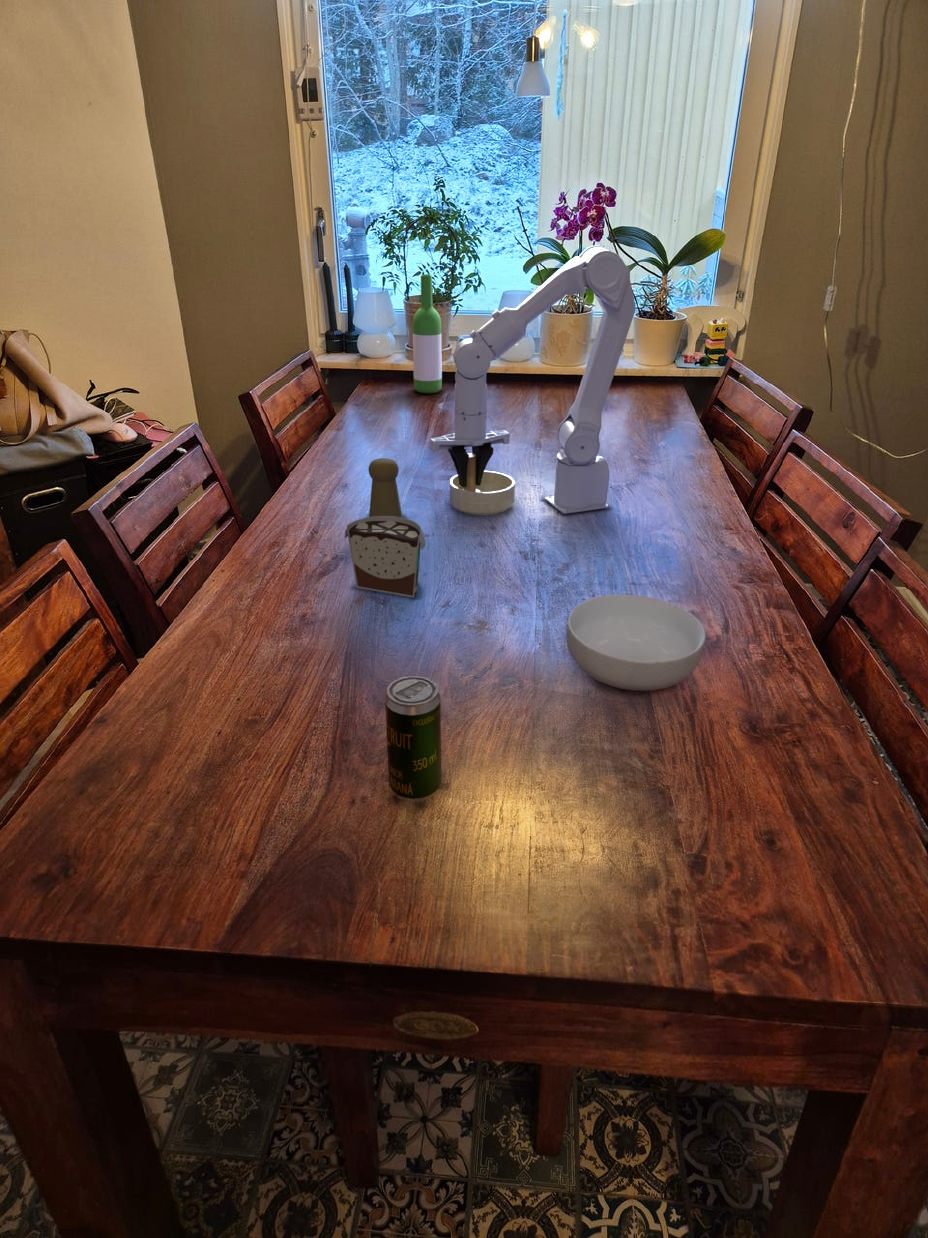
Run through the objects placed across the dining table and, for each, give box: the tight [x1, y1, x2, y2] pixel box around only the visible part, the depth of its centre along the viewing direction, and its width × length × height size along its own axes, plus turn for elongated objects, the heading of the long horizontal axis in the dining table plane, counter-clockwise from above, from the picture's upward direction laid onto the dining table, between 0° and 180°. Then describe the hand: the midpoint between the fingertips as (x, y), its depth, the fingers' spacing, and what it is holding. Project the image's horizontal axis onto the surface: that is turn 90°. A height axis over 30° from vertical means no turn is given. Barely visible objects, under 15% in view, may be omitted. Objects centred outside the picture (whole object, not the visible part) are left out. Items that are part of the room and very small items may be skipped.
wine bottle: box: [412, 273, 443, 394], centre depth 220 cm, size 8×8×30 cm
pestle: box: [463, 452, 480, 492], centre depth 150 cm, size 4×4×9 cm
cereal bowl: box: [566, 593, 707, 692], centre depth 101 cm, size 17×17×7 cm
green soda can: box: [384, 675, 442, 803], centre depth 81 cm, size 5×5×12 cm
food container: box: [344, 516, 426, 599], centre depth 122 cm, size 12×6×10 cm, turn 71°
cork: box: [368, 457, 403, 518], centre depth 143 cm, size 6×6×11 cm
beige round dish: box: [449, 470, 516, 516], centre depth 152 cm, size 12×12×4 cm
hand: (469, 484), depth 150 cm, fingers closed on pestle, 2 cm apart
